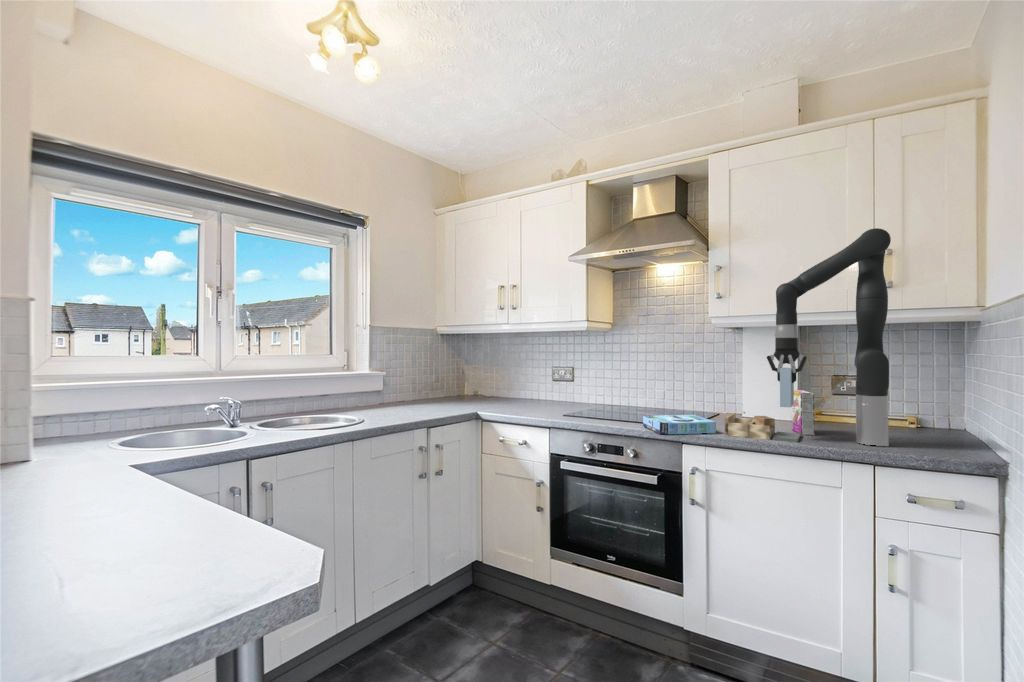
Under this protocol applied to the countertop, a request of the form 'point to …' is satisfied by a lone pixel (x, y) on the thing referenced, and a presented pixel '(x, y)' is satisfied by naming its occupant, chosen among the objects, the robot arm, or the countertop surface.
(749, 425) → the rack
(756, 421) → the offcut upper
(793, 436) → the mat
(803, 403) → the candy bar box
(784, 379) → the tall pale blue pillar
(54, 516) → the countertop surface
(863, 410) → the robot arm
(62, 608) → the countertop surface
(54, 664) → the countertop surface
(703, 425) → the gum box
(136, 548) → the countertop surface
